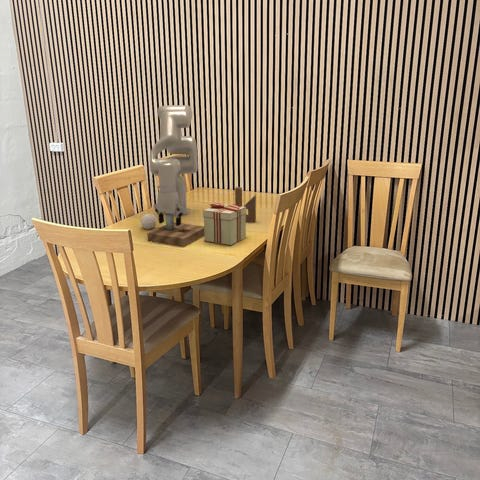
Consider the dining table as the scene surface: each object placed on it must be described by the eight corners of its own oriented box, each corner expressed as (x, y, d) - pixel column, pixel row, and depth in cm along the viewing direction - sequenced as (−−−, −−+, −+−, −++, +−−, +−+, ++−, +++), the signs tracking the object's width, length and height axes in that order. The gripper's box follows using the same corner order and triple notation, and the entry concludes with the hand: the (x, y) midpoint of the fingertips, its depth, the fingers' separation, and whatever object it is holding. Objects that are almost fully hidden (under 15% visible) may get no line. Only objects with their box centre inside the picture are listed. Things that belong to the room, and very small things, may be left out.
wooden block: (254, 222, 252) (254, 189, 246) (234, 221, 254) (233, 188, 248) (256, 221, 255) (255, 187, 250) (236, 219, 258) (235, 186, 252)
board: (147, 241, 226) (147, 233, 225) (172, 229, 243) (171, 221, 242) (183, 247, 217) (183, 238, 216) (206, 234, 234) (206, 226, 233)
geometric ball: (145, 233, 247) (138, 219, 248) (159, 226, 248) (152, 212, 249) (144, 230, 239) (137, 216, 240) (159, 222, 241) (151, 208, 242)
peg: (165, 237, 231) (163, 215, 228) (169, 235, 234) (168, 213, 231) (171, 238, 229) (170, 216, 226) (176, 236, 233) (174, 214, 229)
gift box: (249, 234, 233) (249, 199, 228) (233, 246, 217) (233, 209, 212) (218, 230, 240) (217, 196, 234) (200, 242, 224) (198, 205, 218)
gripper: (147, 188, 225) (150, 223, 231) (178, 192, 218) (180, 228, 223) (157, 185, 231) (159, 219, 237) (187, 188, 224) (189, 224, 230)
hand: (170, 223), depth 230 cm, fingers open, 9 cm apart
